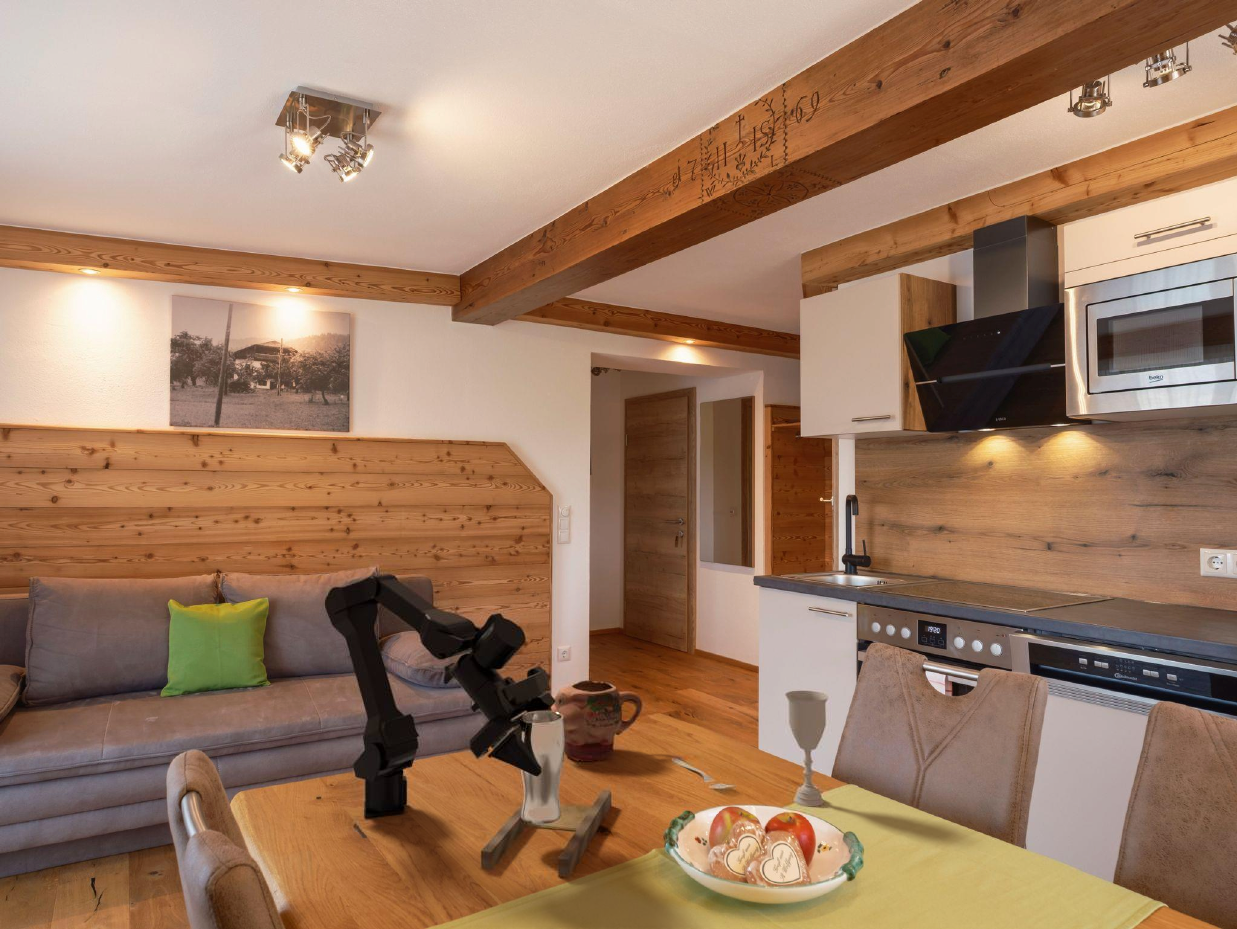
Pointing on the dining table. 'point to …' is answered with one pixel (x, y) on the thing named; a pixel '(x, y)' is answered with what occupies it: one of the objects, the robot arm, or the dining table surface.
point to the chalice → (807, 736)
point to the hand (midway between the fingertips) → (549, 766)
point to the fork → (706, 778)
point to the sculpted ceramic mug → (593, 718)
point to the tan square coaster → (567, 818)
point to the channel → (570, 852)
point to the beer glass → (543, 765)
